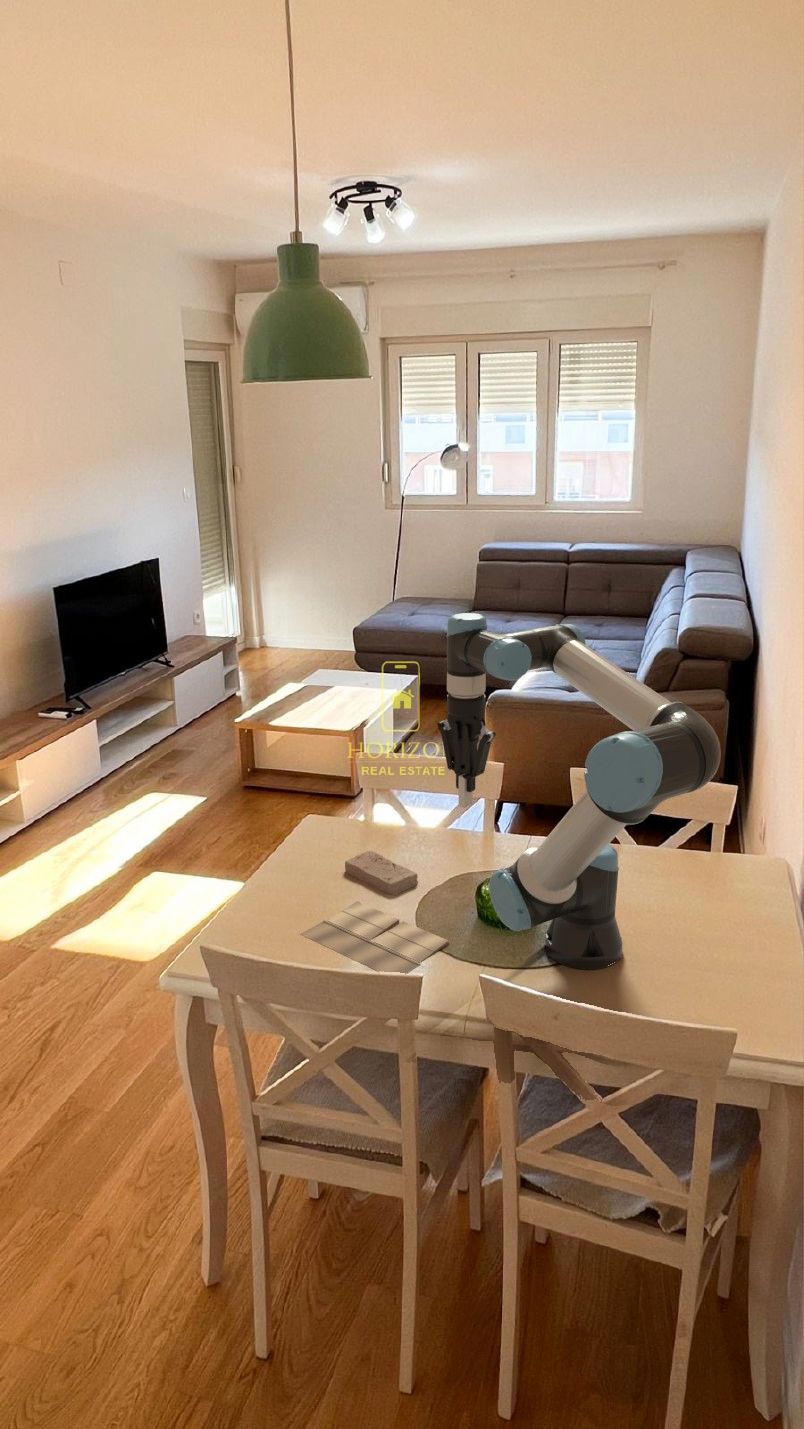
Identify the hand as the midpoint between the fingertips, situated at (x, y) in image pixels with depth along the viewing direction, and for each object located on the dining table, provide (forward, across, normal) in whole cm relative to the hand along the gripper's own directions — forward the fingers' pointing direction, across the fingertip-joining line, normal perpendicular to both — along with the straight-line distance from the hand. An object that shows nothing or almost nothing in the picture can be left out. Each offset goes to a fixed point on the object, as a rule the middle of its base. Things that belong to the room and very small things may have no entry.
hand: (465, 804), depth 201 cm
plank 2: (+26, +1, +16) cm, 30 cm away
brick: (+27, +25, -2) cm, 37 cm away
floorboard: (+26, +8, +24) cm, 37 cm away
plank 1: (+26, +14, +16) cm, 33 cm away
